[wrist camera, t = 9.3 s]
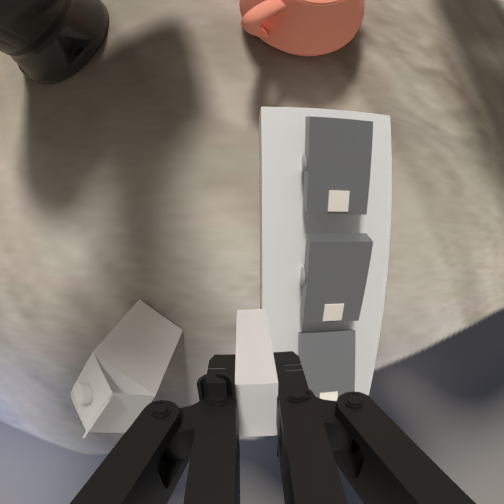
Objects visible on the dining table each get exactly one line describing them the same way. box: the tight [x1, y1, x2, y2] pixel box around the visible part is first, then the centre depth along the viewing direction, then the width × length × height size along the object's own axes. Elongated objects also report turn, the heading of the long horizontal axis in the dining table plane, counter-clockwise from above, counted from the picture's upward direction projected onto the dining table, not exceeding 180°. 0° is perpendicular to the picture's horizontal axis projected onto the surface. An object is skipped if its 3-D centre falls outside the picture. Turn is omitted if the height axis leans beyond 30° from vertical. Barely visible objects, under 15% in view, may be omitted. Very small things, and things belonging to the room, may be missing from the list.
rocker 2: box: [298, 329, 355, 401], centre depth 33 cm, size 9×6×3 cm
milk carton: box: [70, 299, 183, 438], centre depth 32 cm, size 7×7×19 cm
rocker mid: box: [300, 233, 373, 324], centre depth 31 cm, size 9×6×3 cm
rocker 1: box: [302, 116, 373, 215], centre depth 29 cm, size 9×6×3 cm
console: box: [259, 107, 392, 395], centre depth 36 cm, size 34×15×7 cm, turn 0°
